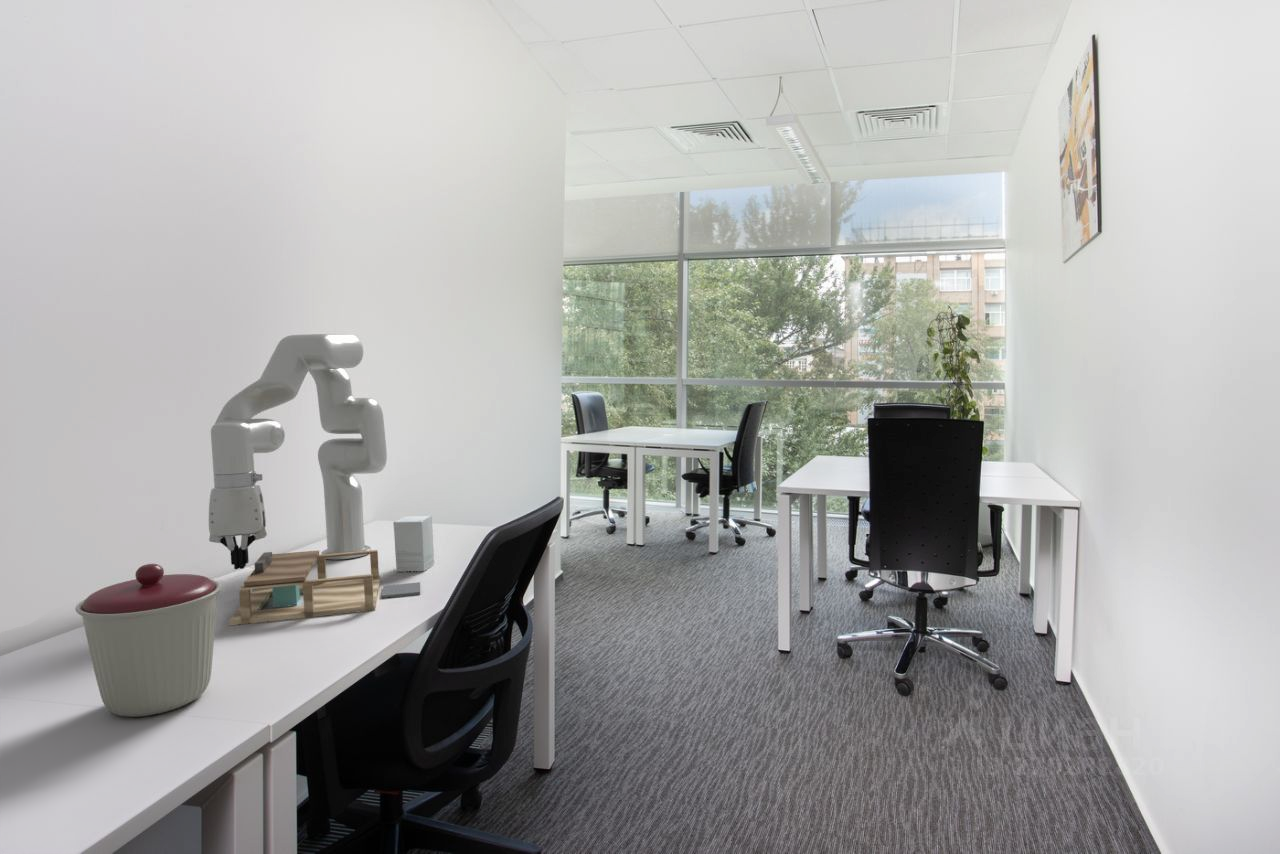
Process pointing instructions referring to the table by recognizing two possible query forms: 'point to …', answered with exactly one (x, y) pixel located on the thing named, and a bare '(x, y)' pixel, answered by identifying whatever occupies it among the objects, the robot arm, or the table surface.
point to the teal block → (285, 595)
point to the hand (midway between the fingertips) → (240, 567)
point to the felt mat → (401, 590)
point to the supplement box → (413, 543)
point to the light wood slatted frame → (314, 595)
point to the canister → (151, 640)
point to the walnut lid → (282, 568)
